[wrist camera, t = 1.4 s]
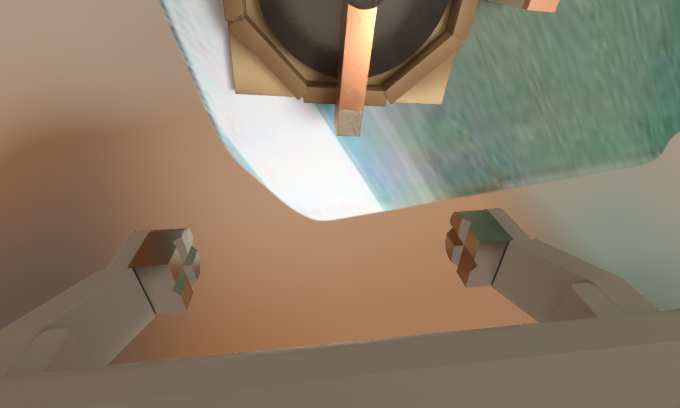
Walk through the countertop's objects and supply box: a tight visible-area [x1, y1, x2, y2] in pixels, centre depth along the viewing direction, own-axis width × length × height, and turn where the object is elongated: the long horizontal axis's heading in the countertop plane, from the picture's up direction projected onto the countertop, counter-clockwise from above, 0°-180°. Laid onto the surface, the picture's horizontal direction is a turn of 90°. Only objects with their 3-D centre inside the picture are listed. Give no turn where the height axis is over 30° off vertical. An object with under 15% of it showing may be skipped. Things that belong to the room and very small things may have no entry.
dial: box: [258, 0, 449, 136], centre depth 26 cm, size 21×17×6 cm
